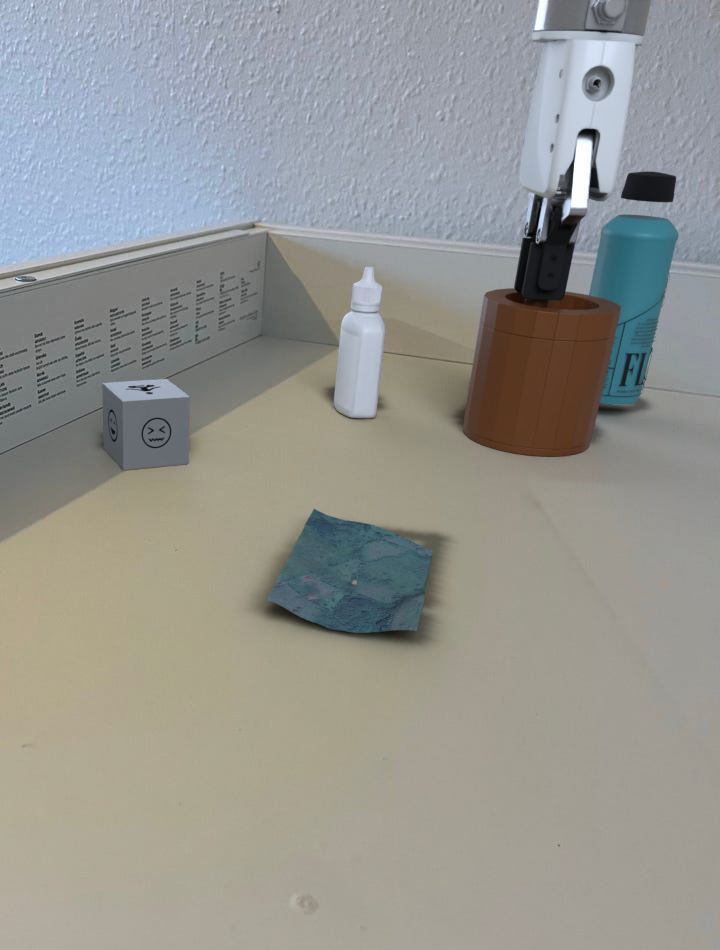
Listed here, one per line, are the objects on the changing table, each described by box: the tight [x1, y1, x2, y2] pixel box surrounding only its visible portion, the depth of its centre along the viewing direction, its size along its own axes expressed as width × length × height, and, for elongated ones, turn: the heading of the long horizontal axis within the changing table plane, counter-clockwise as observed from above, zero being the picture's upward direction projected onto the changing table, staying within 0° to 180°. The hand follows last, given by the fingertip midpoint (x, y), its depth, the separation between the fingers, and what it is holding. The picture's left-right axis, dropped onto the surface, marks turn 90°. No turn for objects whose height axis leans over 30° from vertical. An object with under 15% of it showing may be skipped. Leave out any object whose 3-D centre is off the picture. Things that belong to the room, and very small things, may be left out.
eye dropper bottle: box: [333, 266, 386, 419], centre depth 84 cm, size 4×6×12 cm
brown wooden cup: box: [462, 287, 621, 457], centre depth 80 cm, size 10×10×11 cm
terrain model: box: [266, 508, 434, 634], centre depth 55 cm, size 13×8×2 cm, turn 165°
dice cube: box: [101, 378, 191, 471], centre depth 73 cm, size 5×5×5 cm
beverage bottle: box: [588, 170, 679, 406], centre depth 86 cm, size 6×7×20 cm
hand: (538, 293), depth 77 cm, fingers closed
